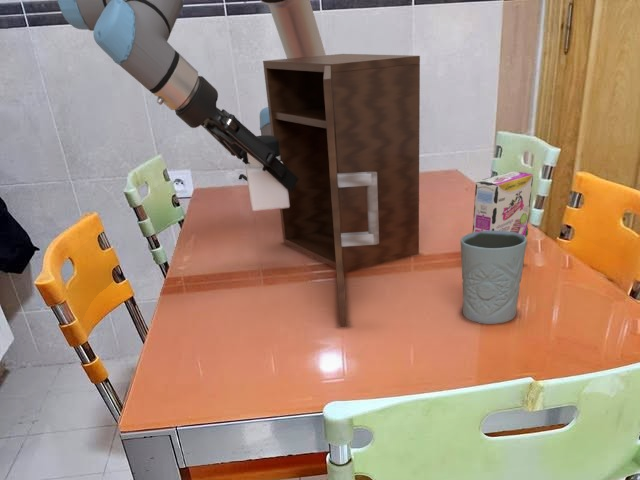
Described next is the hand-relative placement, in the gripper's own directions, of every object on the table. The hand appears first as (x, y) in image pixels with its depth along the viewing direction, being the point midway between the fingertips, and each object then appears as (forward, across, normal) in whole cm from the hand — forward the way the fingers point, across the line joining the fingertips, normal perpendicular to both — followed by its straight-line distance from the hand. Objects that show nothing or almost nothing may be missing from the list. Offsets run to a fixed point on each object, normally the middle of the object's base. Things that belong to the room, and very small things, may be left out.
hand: (282, 181), depth 124 cm
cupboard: (+21, 0, -1) cm, 21 cm away
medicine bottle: (+1, 0, -5) cm, 5 cm away
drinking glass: (+20, +46, -2) cm, 50 cm away
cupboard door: (+11, +26, -11) cm, 30 cm away
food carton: (+31, +31, +9) cm, 45 cm away
